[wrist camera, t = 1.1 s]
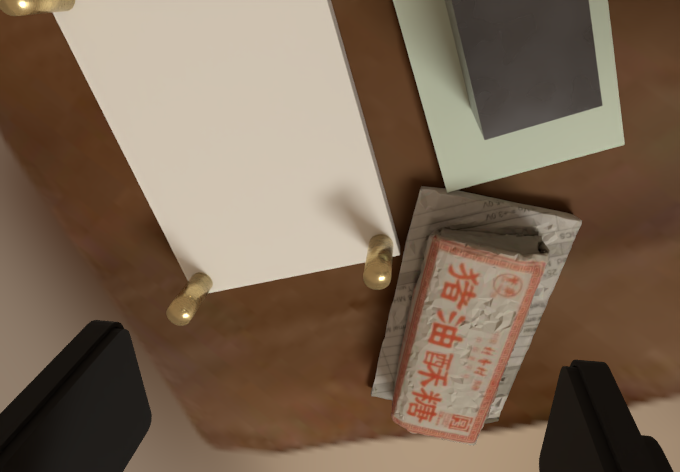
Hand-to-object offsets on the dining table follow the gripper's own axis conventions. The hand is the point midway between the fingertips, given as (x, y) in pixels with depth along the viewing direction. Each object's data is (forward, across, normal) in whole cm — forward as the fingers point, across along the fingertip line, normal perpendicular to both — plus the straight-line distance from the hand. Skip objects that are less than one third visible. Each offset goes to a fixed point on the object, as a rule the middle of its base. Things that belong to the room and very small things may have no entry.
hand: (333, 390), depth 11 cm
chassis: (+21, +9, 0) cm, 23 cm away
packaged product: (+22, -5, +13) cm, 26 cm away
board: (+22, -6, -5) cm, 23 cm away
